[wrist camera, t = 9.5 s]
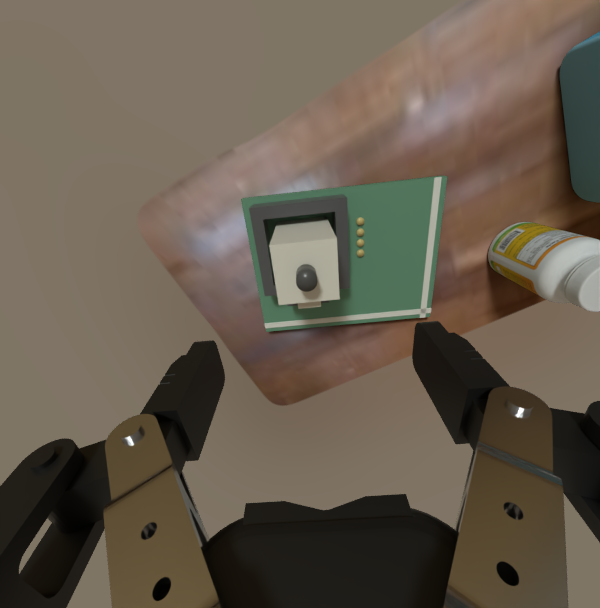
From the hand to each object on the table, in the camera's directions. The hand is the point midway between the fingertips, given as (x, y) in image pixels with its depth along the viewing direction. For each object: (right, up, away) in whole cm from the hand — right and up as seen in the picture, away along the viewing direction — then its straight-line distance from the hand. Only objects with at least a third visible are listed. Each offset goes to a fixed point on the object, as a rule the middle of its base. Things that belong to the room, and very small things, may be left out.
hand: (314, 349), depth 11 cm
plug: (0, +8, +15) cm, 17 cm away
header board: (+4, +6, +17) cm, 19 cm away
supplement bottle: (+21, +8, +17) cm, 28 cm away
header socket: (+1, +7, +16) cm, 17 cm away
